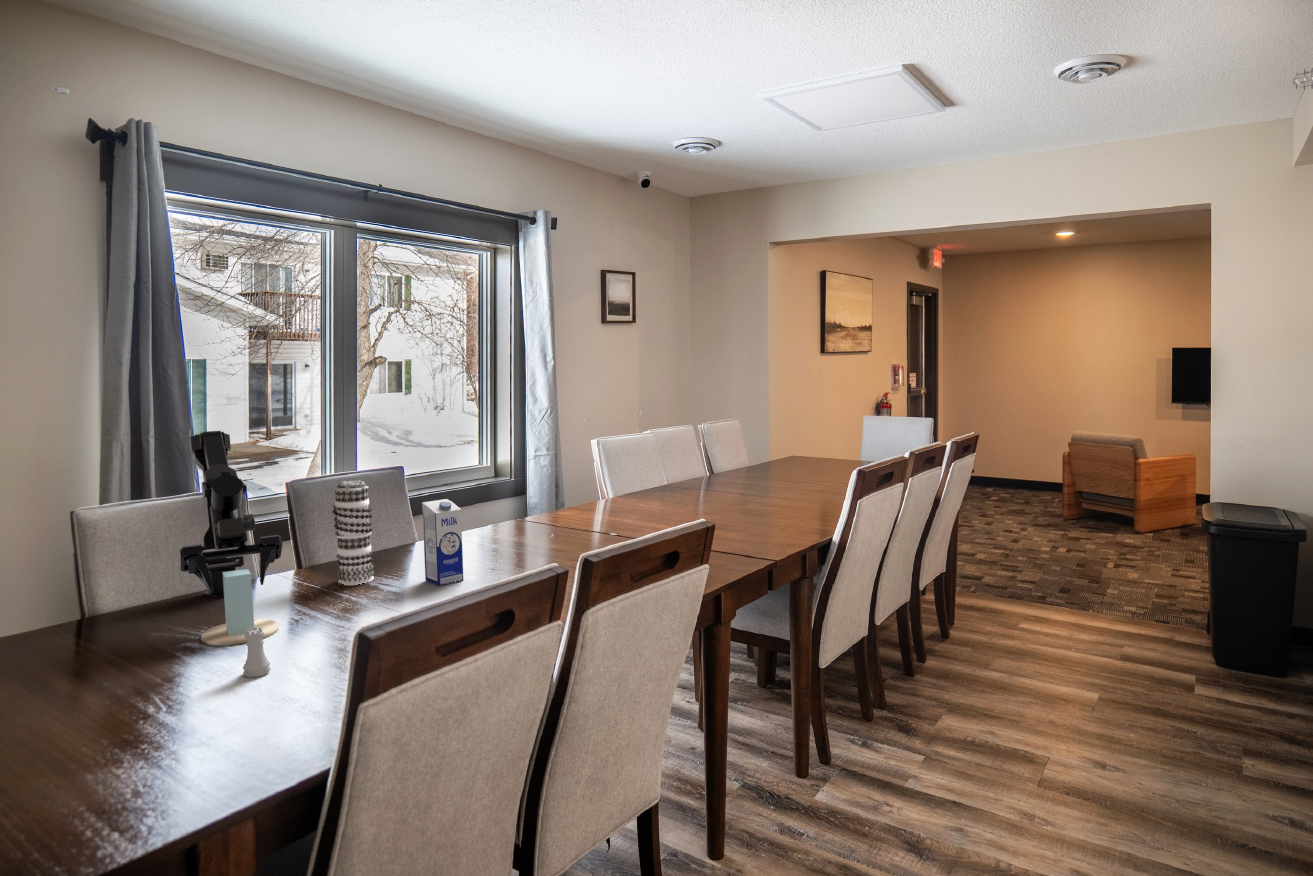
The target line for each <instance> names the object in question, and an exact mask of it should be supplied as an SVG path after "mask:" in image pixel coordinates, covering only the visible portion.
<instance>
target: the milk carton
mask: <svg viewBox="0 0 1313 876" xmlns="http://www.w3.org/2000/svg"><path fill="white" fill-rule="evenodd" d="M421 504H422V527H423V552H424V575H425V578H424V579H425V582H427V581H428V583H430V582H431V583H430V584H432V583H434V584H433V585H435V584H436V585H435V586H438V587H440V586H441V587H442V586H445V584H446V585H448V584H447V583H450V584H453V583H452V582H454V583H456V582H455V581H459V580H463V581H464V562H463V559H464V558H463V557H464V556H463V533H462V532H463V530H462V508H460V507H459V506H457V504H456V503H454V502H453V501H452V500H449V499H448V498H445V499H444V498H443V499H437V500H430V501H423V502H421ZM459 582H460V581H459Z"/></svg>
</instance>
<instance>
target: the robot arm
mask: <svg viewBox="0 0 1313 876" xmlns="http://www.w3.org/2000/svg"><path fill="white" fill-rule="evenodd" d="M230 437H231V436H230V434H229V433H225V431H221V430H211V431H209V430H207V431H202V432H200V433H199V434H194V435H191V436H190V437H189V451H190V453H189V454H190V455H191V454H192V455H193V460H194V462H193V463H194V464H196V466H197V467H198V468H199V469H200V470H201V472H202V479H203V481H202V482H201V494H202V498H203V499H205V507H206V517H207V526H208V527H207V530H206V532H205V534H204V536H203V537H202V538H203V539H202V544H201V543H200V544H192V545H183V546H181V548H179V566H180V567H179V568H180V572H187V573H188V574H190V575H195V576H196V577H197V578H198V579H199V580H200V581H201V582H202V583H203V585H204V586H205V587H206V589H207V590H206V591H202V592H201V594H202V595H203V596H209V597H212V598H217V599H218V598H220V599H221V598H222V597H223V598H224V586H223V572H228V571H235V570H237V569H236V568H241V567H243V566H244V565H245V558H244V556H251V555H257V554H258V555H259V563H258V565H259V583H260V585H261V586H263V585H264V583H265V578H266V573H267V570H268V568H269V566H270V564H272V563H275V560H279V559H281V557H282V549H283V539H282V537H281V536H280V535H279V534H274V535H264V536H260V538H259V543H256V544H248V545H247V542H248V535H247V534H248V533H247V532H251V531H255V529H256V520H255V516H254V513H251V514H244V515H243V517H242V511H241V506H242V503H243V495H244V494H245V492H247V491H248V488H247V484H245V483H244V481H242V479H241V478H239V477H238V473H237V470H236V469H234V468H232V467H230V466H229V461H228V452H230V451H231V448H232V446H231V445H232V444H231V438H230Z"/></svg>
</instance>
